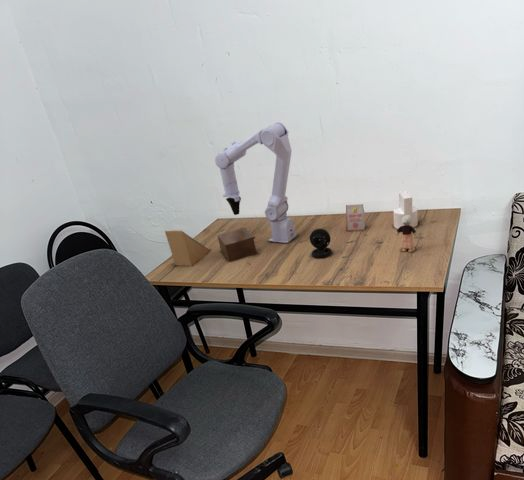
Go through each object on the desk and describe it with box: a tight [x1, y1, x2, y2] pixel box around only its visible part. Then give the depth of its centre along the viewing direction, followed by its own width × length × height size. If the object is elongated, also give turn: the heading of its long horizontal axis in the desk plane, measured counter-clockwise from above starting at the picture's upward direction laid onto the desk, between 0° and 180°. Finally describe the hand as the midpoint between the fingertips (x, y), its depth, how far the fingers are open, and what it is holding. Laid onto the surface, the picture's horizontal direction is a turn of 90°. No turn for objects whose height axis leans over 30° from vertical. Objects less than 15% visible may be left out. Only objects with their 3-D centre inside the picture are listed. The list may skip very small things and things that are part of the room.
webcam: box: [309, 228, 333, 259], centre depth 175 cm, size 8×8×10 cm
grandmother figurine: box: [395, 215, 418, 253], centre depth 164 cm, size 8×4×13 cm, turn 65°
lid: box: [216, 226, 256, 247], centre depth 191 cm, size 12×14×1 cm
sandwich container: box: [164, 229, 211, 267], centre depth 194 cm, size 9×15×15 cm, turn 154°
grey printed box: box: [345, 203, 366, 232], centre depth 189 cm, size 4×7×10 cm, turn 70°
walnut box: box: [217, 237, 257, 263], centre depth 192 cm, size 12×14×6 cm
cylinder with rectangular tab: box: [393, 190, 419, 230], centre depth 183 cm, size 9×9×12 cm
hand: (236, 214), depth 202 cm, fingers closed
